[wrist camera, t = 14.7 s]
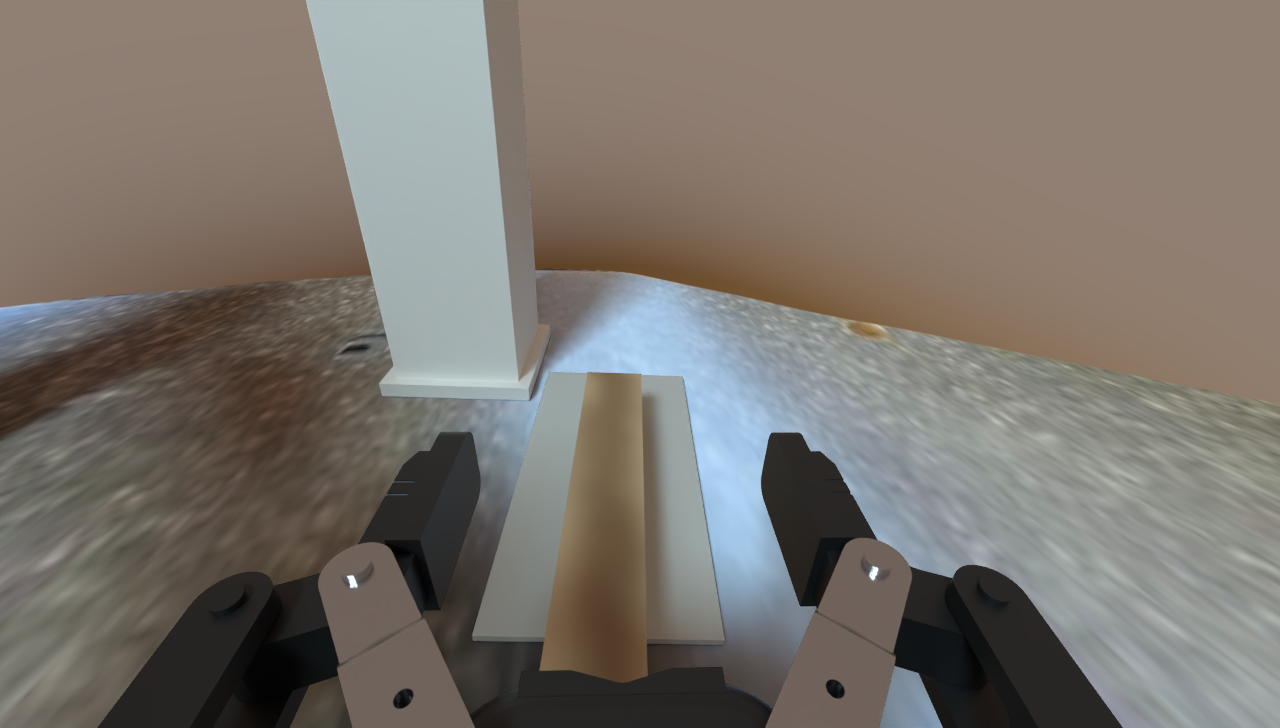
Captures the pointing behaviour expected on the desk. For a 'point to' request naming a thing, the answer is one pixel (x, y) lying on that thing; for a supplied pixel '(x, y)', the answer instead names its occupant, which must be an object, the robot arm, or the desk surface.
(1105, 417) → the desk surface
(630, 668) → the oak bar
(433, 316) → the shelf post
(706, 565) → the rubber mat
